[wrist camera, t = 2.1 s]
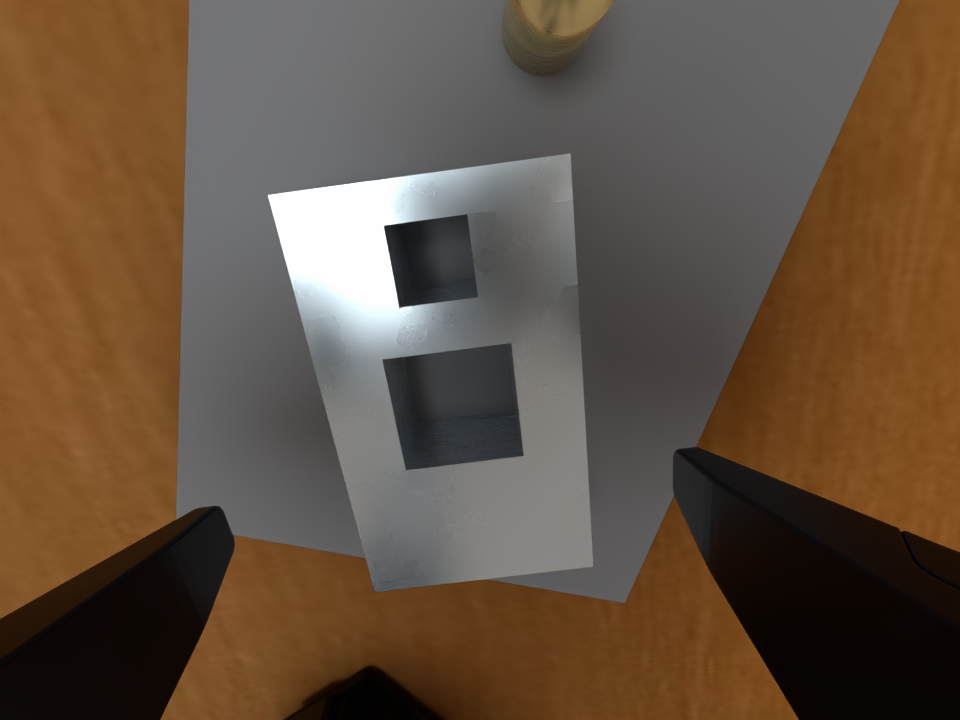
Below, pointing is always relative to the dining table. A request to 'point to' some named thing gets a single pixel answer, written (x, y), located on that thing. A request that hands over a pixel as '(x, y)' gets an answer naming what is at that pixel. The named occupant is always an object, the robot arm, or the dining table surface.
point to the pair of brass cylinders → (548, 31)
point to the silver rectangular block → (438, 328)
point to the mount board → (446, 241)
